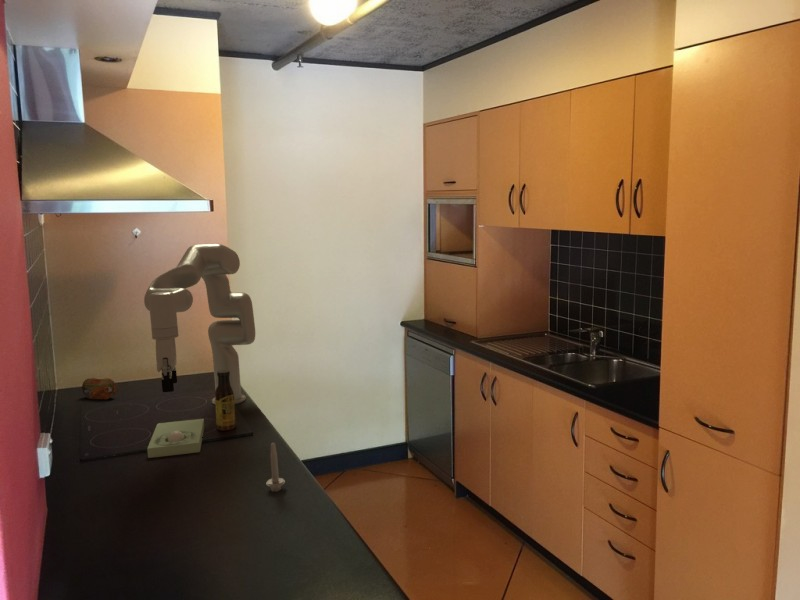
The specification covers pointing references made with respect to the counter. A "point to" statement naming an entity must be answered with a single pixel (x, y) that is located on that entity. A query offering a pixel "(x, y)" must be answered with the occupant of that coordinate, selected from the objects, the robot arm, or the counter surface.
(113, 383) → the tin
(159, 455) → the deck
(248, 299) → the robot arm
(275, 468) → the screw
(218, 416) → the sauce bottle
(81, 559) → the counter surface
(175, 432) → the ball
